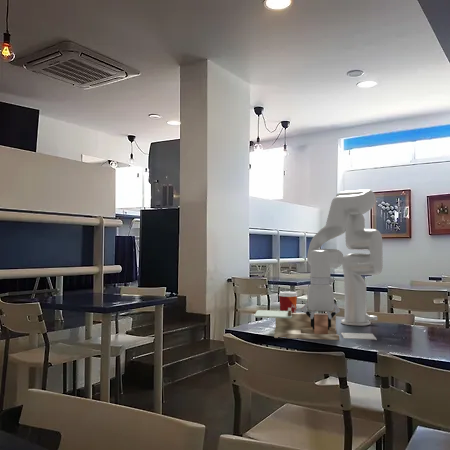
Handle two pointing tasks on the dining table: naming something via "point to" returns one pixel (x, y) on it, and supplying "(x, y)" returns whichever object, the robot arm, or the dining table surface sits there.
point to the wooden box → (302, 328)
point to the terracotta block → (320, 323)
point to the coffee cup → (288, 301)
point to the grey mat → (358, 336)
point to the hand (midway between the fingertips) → (320, 328)
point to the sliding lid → (273, 314)
